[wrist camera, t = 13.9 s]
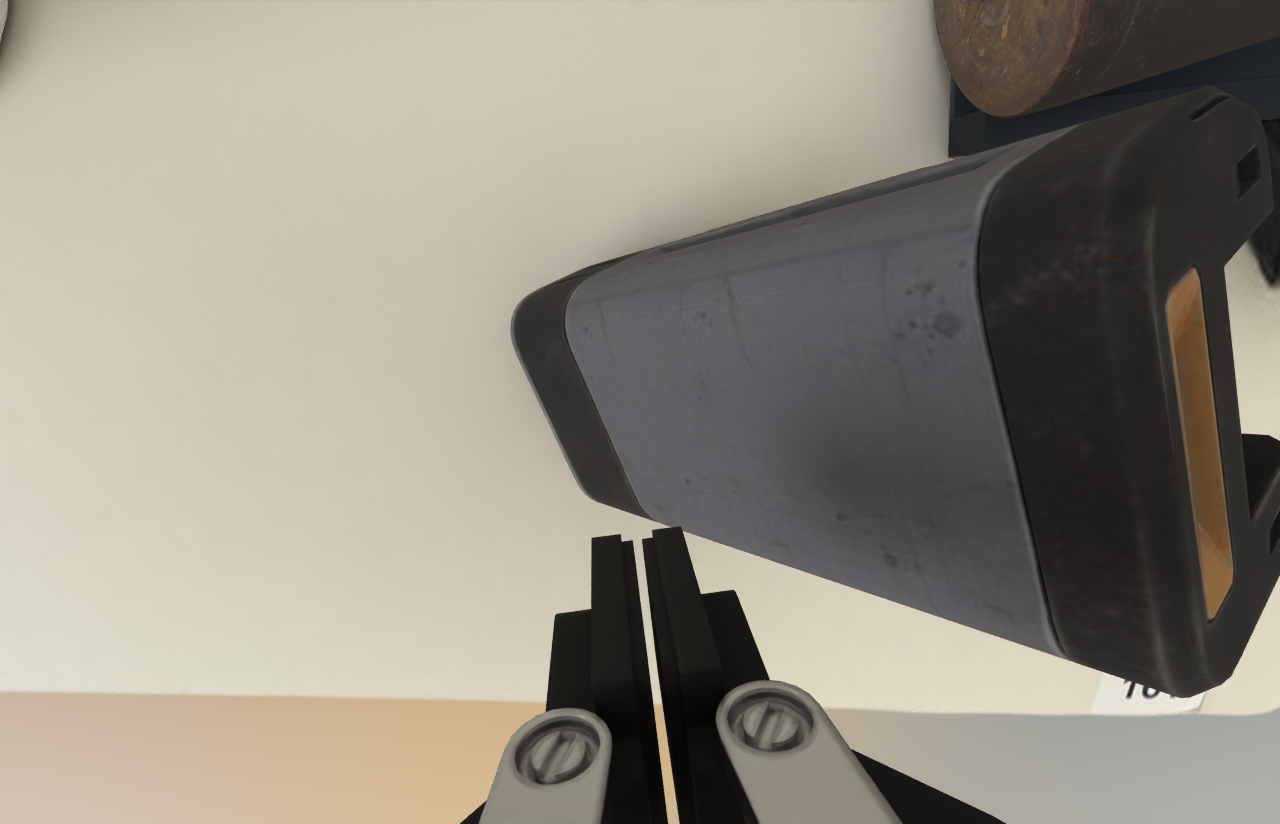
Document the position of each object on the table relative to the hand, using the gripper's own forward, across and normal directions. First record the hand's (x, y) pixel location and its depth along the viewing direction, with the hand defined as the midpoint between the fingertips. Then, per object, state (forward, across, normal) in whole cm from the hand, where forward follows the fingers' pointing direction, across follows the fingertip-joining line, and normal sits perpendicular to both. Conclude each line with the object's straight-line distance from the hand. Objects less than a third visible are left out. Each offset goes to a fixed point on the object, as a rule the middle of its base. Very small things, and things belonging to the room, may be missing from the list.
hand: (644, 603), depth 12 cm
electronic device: (+16, +1, 0) cm, 16 cm away
